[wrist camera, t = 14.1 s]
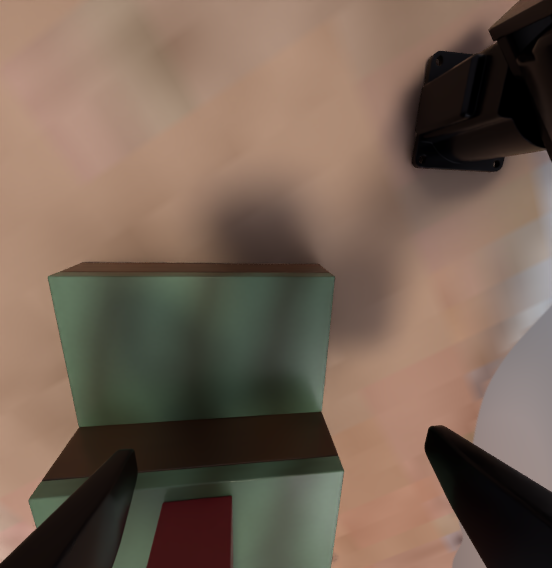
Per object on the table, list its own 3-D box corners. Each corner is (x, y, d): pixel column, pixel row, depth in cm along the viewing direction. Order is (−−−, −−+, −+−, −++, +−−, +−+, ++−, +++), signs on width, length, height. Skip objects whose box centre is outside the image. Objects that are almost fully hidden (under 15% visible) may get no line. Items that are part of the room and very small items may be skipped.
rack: (319, 263, 20) (367, 302, 13) (302, 473, 26) (328, 586, 18) (82, 262, 18) (-32, 307, 11) (120, 489, 24) (64, 625, 16)
